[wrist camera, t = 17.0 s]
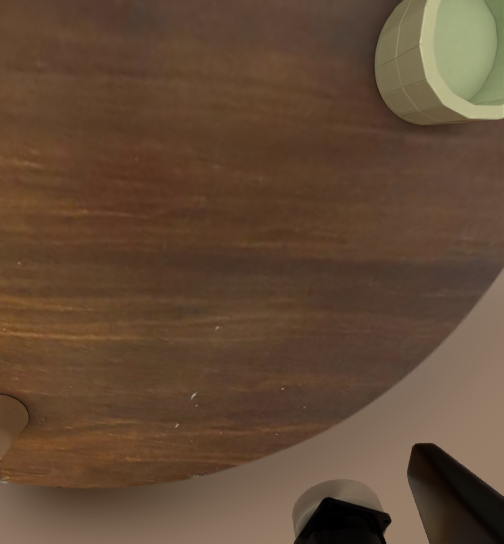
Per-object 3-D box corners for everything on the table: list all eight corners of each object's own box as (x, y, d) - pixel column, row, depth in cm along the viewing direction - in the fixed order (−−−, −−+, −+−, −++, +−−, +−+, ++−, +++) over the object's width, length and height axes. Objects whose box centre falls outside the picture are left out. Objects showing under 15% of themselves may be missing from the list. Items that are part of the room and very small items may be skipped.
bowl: (525, 18, 16) (628, -27, 12) (452, 145, 18) (519, 145, 14) (417, -48, 15) (487, -123, 11) (351, 93, 17) (389, 76, 13)
